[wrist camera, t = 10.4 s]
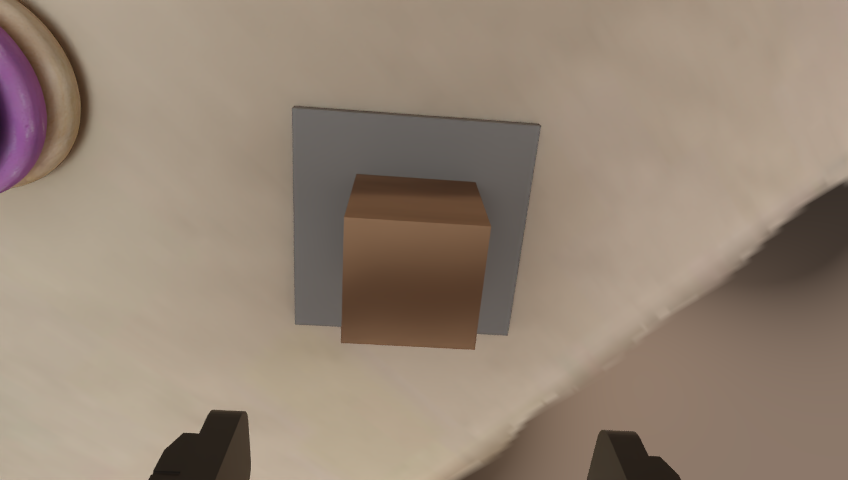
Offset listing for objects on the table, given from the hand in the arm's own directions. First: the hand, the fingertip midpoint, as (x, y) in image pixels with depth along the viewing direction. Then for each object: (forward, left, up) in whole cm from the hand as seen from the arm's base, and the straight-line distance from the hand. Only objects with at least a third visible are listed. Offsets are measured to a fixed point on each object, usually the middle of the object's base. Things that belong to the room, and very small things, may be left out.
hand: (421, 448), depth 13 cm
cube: (0, 0, -13) cm, 13 cm away
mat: (0, 0, -13) cm, 13 cm away
